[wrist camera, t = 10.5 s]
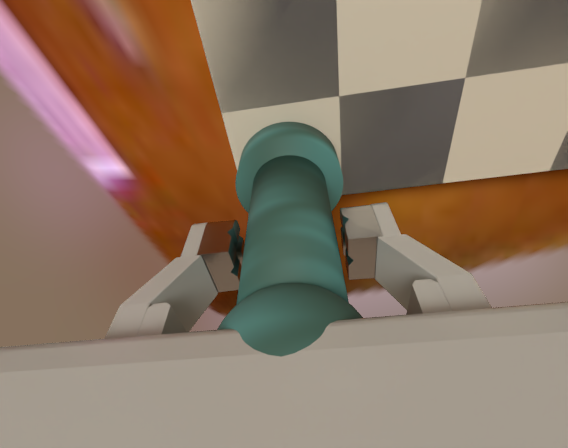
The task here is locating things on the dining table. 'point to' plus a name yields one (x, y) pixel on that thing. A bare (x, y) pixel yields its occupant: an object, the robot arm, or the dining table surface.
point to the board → (398, 83)
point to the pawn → (289, 240)
